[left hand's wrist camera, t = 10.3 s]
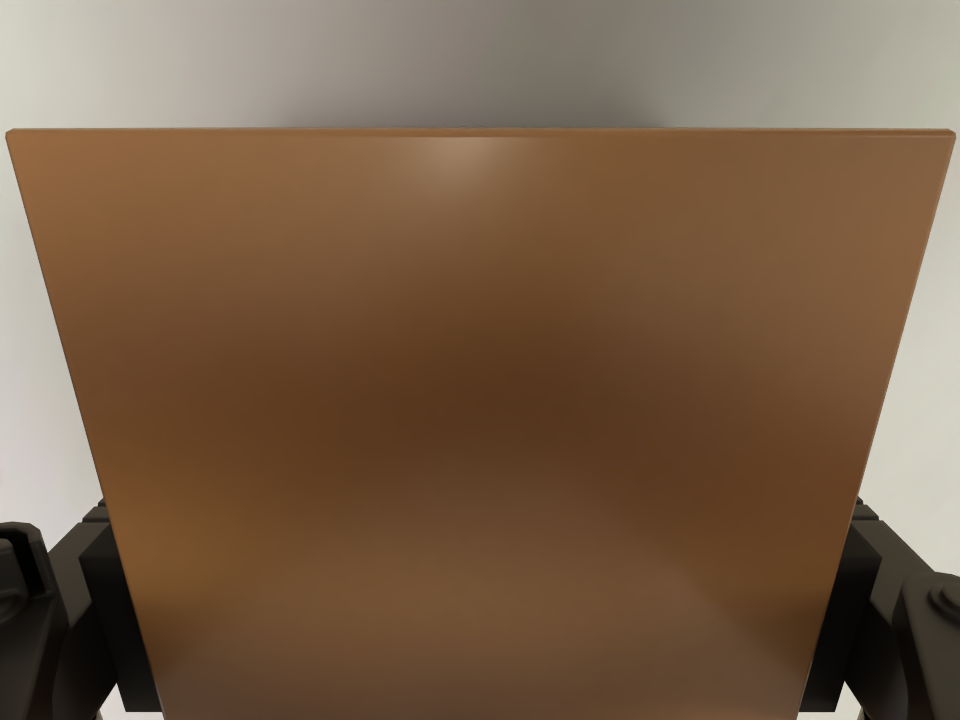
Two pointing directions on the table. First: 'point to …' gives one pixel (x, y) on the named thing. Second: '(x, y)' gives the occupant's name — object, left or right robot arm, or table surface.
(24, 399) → the table surface
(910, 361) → the table surface
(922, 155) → the wooden grain beam
